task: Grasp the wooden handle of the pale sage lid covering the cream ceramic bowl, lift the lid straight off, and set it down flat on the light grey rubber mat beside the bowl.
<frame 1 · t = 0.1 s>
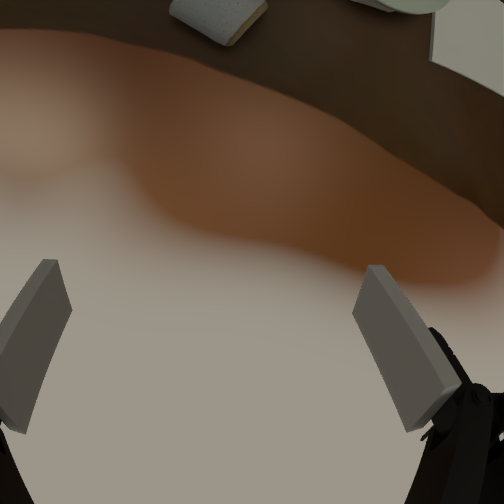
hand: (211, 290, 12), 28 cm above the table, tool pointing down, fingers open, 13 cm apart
ceramic mug: (225, 3, 27), on the table
mat: (474, 29, 28), on the table
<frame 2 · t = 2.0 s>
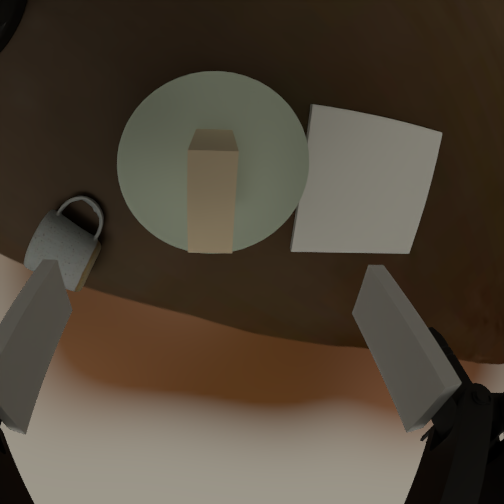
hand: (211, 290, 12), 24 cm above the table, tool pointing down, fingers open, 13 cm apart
ceramic mug: (76, 228, 35), on the table
mat: (369, 187, 36), on the table
lid: (212, 165, 27), point 6 cm above the table, touching bowl
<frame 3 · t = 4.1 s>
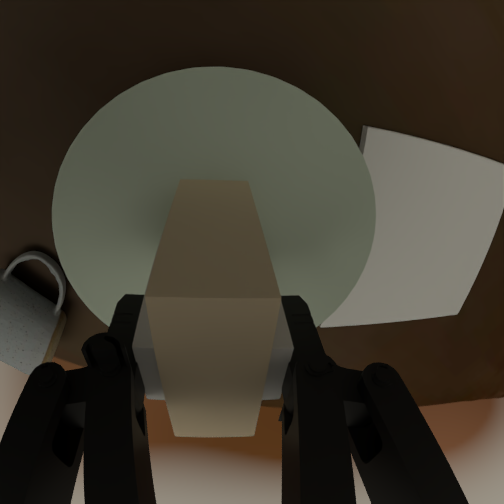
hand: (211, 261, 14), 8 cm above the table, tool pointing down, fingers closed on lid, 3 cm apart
ceramic mug: (34, 289, 24), on the table
mat: (426, 241, 25), on the table
lid: (212, 236, 16), point 6 cm above the table, touching bowl, gripper
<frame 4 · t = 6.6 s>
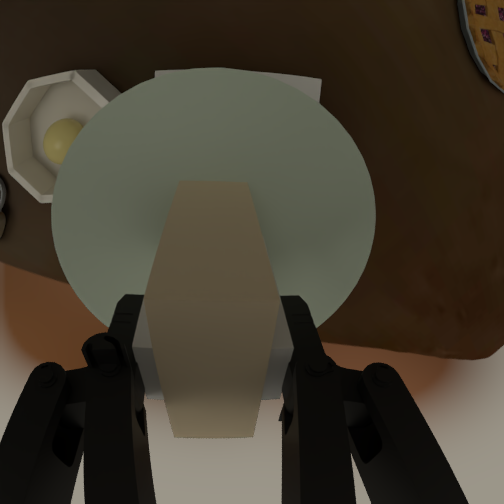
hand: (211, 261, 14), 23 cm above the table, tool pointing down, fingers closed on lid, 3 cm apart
mat: (234, 147, 34), on the table
pie: (495, 30, 26), on the table
bowl: (75, 129, 30), on the table
lid: (211, 238, 16), point 21 cm above the table, touching gripper
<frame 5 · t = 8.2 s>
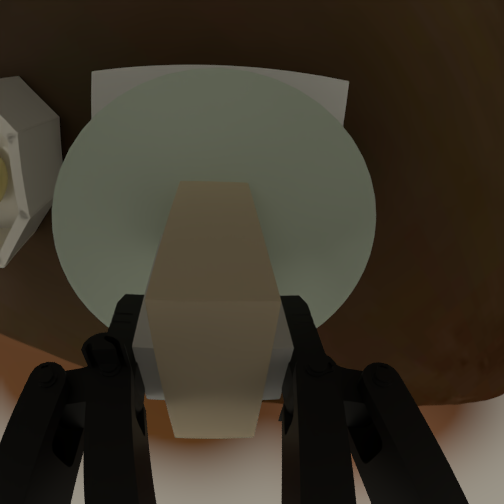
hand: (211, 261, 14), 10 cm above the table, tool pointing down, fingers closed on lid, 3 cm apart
mat: (213, 185, 23), on the table
lid: (212, 238, 16), point 8 cm above the table, touching gripper
when the fingers open (5 cm above the table, at t = 9.6 s): lid drops 1 cm, resting on mat.
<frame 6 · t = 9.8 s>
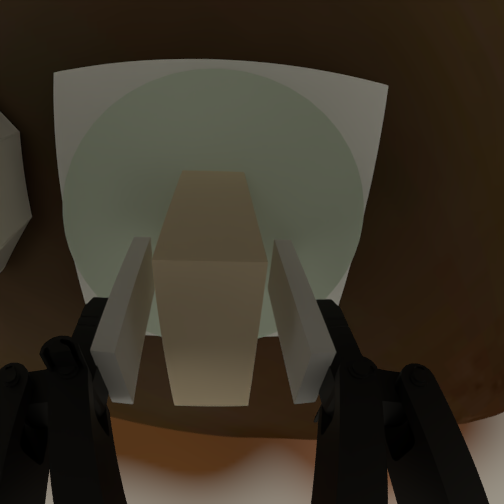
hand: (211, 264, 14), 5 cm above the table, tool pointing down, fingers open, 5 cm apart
mat: (212, 218, 18), on the table
lid: (211, 224, 18), point 1 cm above the table, touching mat
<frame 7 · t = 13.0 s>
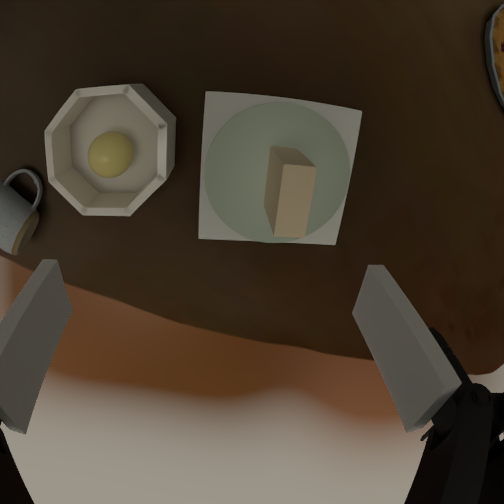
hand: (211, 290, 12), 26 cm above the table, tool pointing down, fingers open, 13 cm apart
ceramic mug: (22, 199, 35), on the table
mat: (277, 171, 37), on the table
bowl: (118, 142, 33), on the table
lid: (278, 174, 36), point 1 cm above the table, touching mat
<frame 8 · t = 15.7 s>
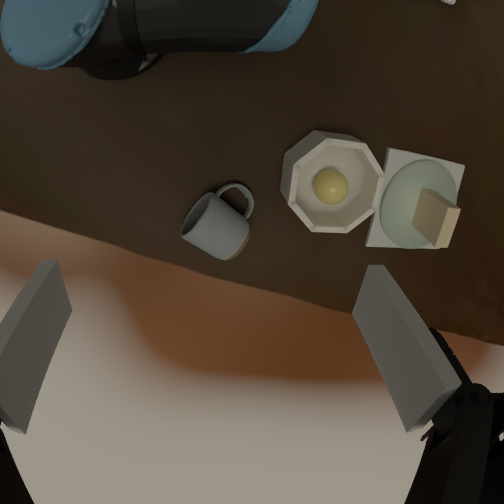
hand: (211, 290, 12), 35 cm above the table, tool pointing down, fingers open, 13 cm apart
ceramic mug: (220, 209, 48), on the table
mat: (417, 202, 51), on the table
bowl: (325, 175, 47), on the table
lid: (419, 204, 50), point 1 cm above the table, touching mat
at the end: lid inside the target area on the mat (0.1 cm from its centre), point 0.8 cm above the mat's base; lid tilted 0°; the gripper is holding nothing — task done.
